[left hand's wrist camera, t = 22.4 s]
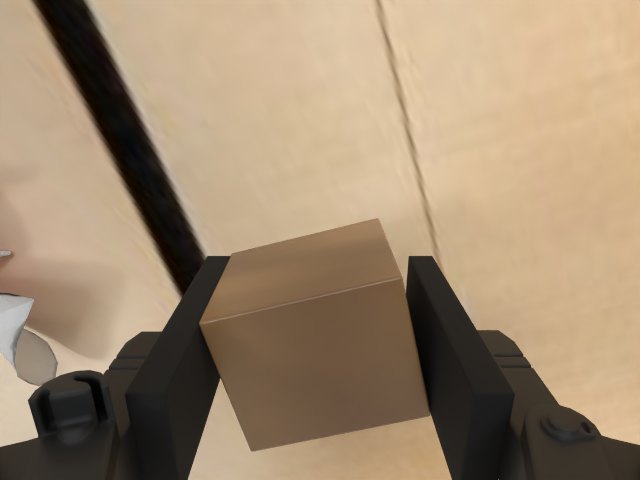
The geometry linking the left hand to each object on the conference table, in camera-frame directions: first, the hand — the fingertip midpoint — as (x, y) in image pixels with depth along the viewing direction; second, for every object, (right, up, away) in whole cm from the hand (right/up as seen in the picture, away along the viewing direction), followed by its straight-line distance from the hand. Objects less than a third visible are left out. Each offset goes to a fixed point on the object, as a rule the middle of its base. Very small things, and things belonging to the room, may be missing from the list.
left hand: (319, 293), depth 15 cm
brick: (0, 0, 0) cm, 0 cm away
